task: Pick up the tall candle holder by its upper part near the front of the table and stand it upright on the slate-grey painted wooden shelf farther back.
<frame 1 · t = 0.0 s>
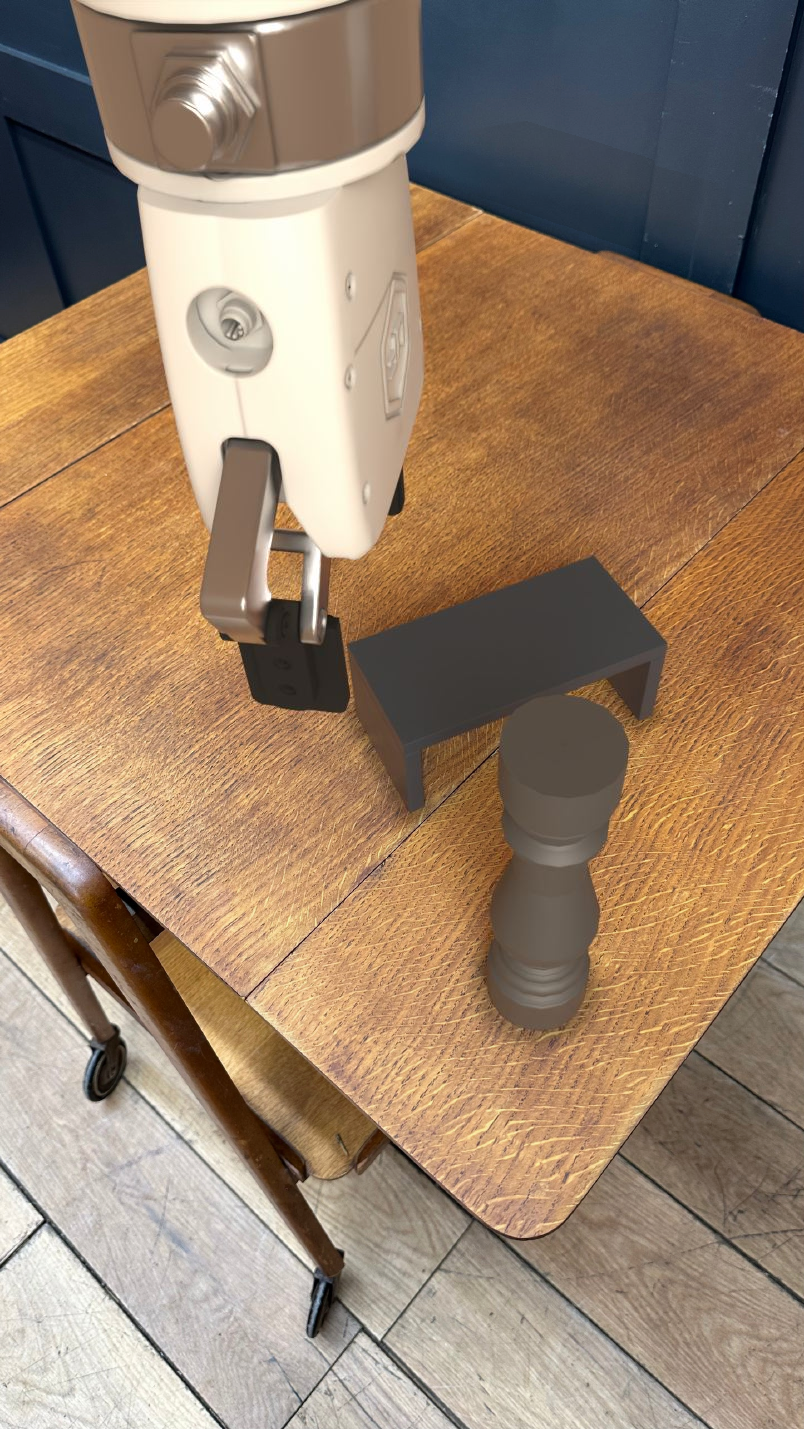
hand: (335, 597, 37), 35 cm above the table, tool pointing down, fingers open, 9 cm apart
shelf: (502, 714, 78), on the table
napkin holder: (308, 420, 103), on the table
candle holder: (535, 984, 65), on the table
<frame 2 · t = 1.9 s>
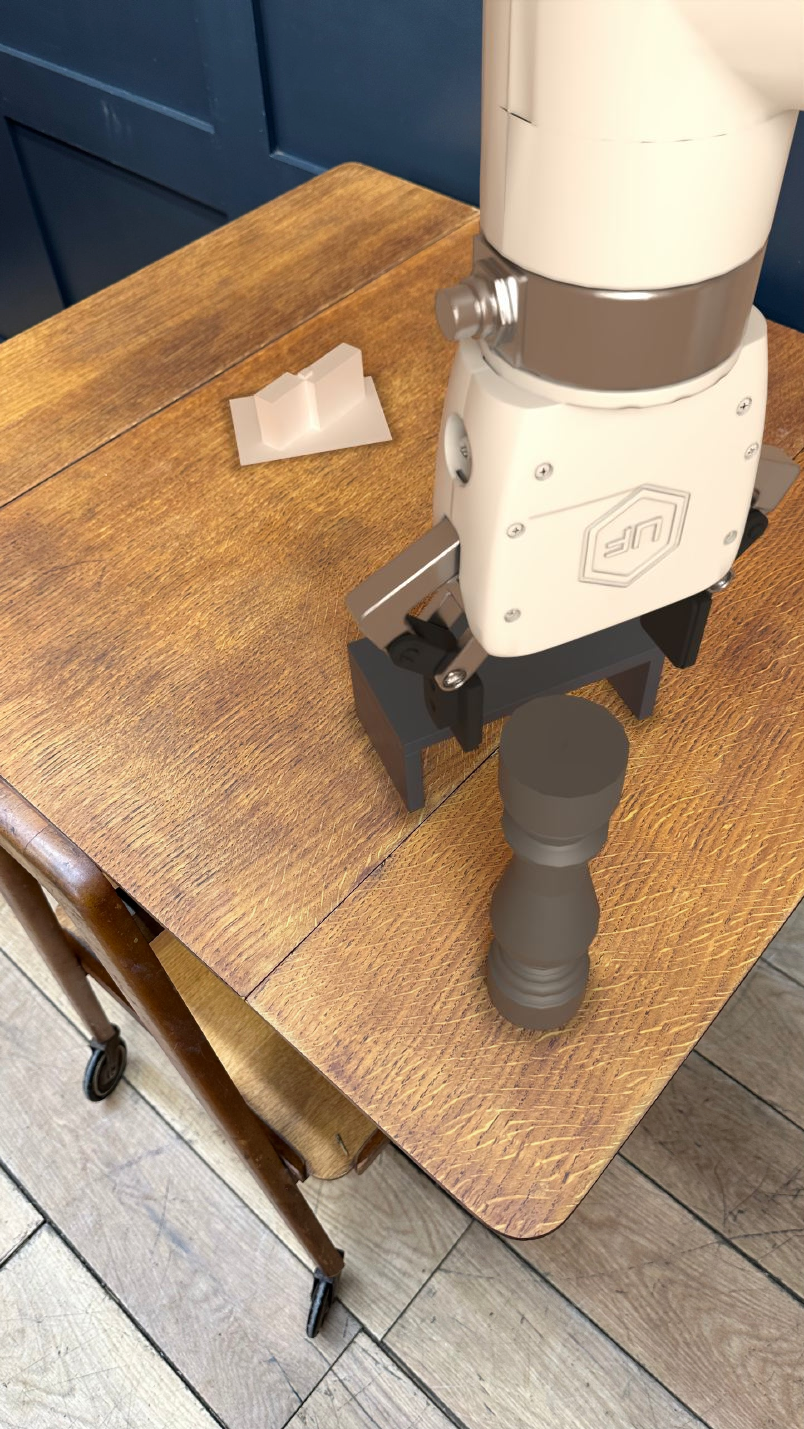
hand: (563, 684, 42), 29 cm above the table, tool pointing down, fingers open, 9 cm apart
nothing on the table moved.
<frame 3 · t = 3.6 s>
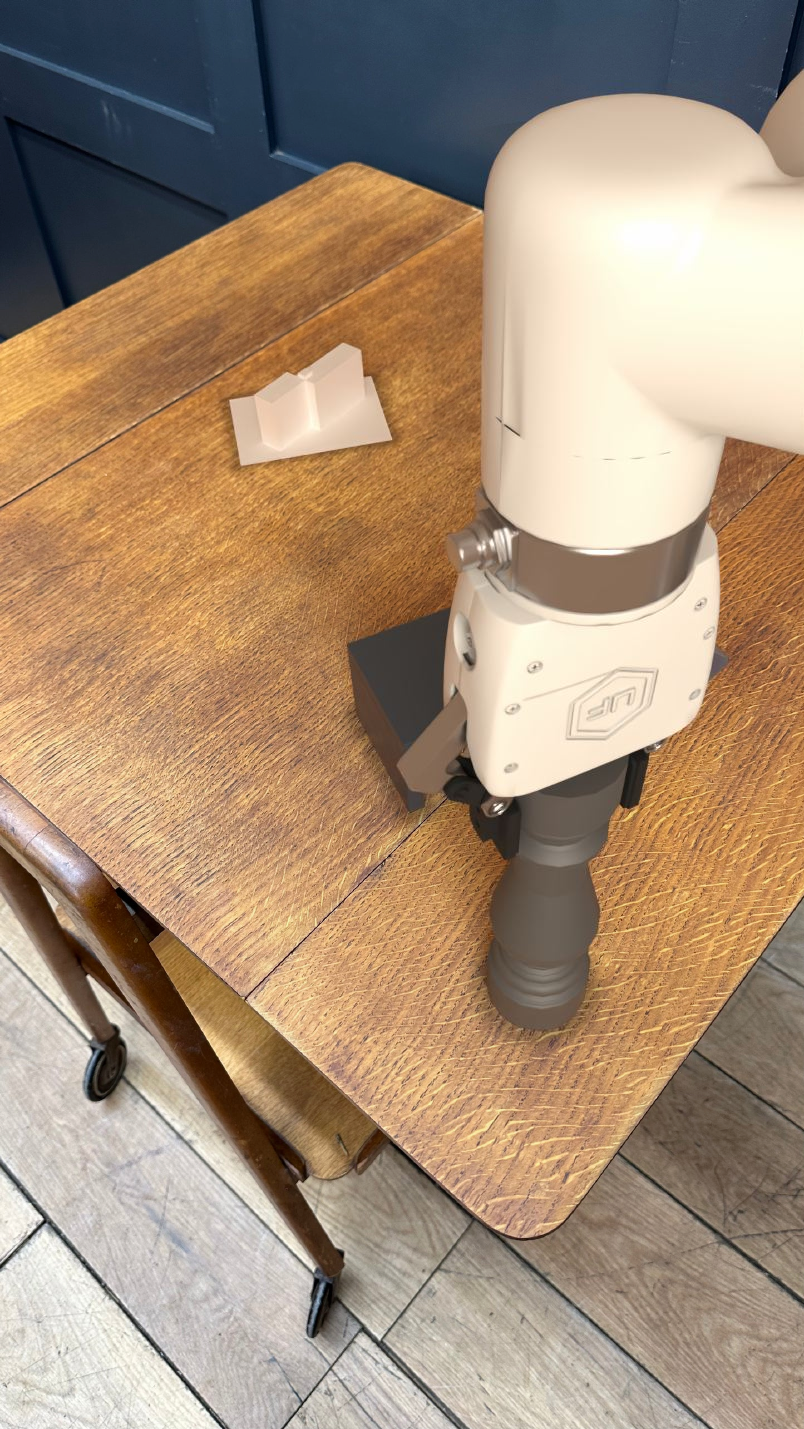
hand: (556, 807, 49), 20 cm above the table, tool pointing down, fingers closed on candle holder, 5 cm apart
candle holder: (535, 984, 65), on the table, touching gripper
everything else where it was.
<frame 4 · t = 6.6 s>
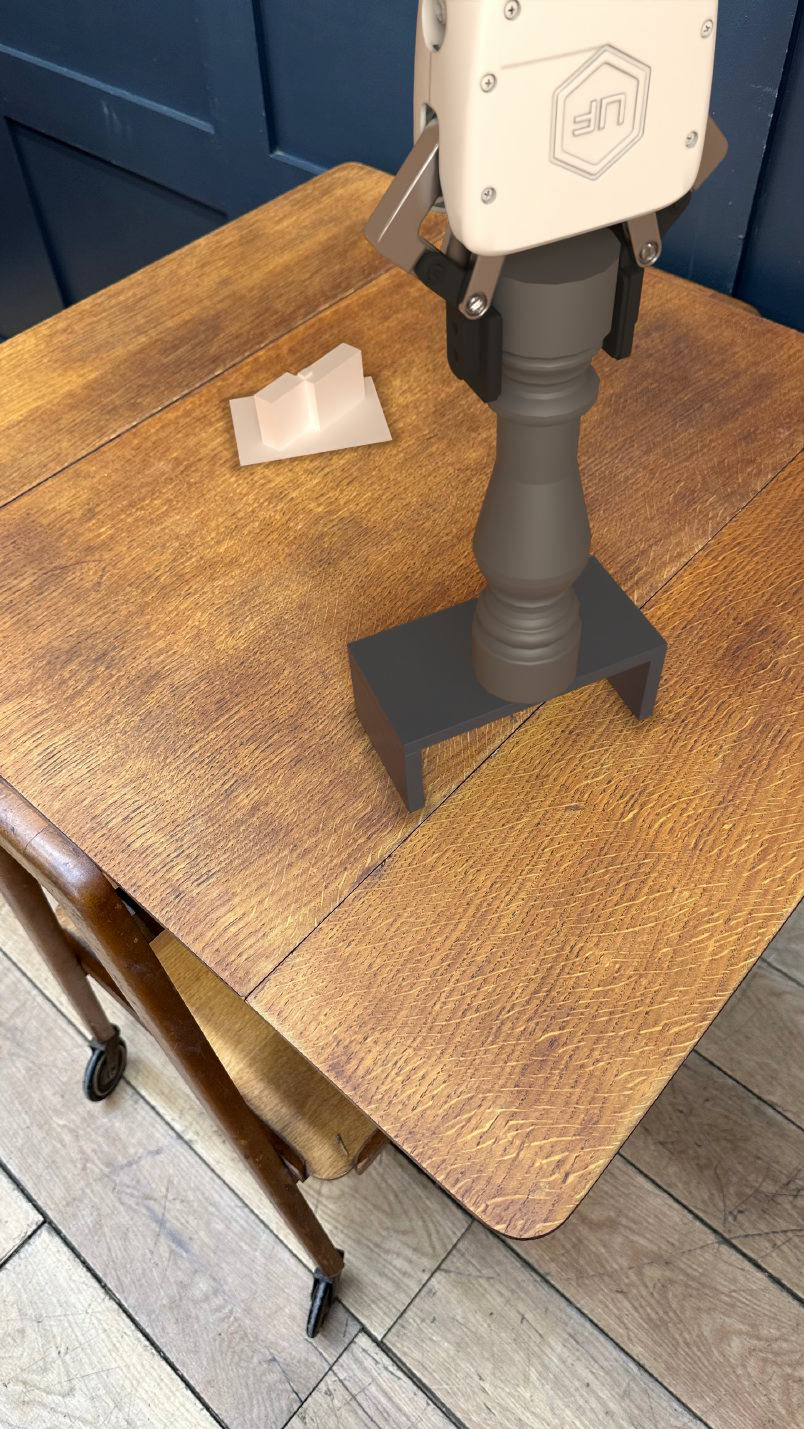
hand: (541, 360, 45), 35 cm above the table, tool pointing down, fingers closed on candle holder, 5 cm apart
candle holder: (524, 665, 61), point 15 cm above the table, touching gripper
everything else where it was.
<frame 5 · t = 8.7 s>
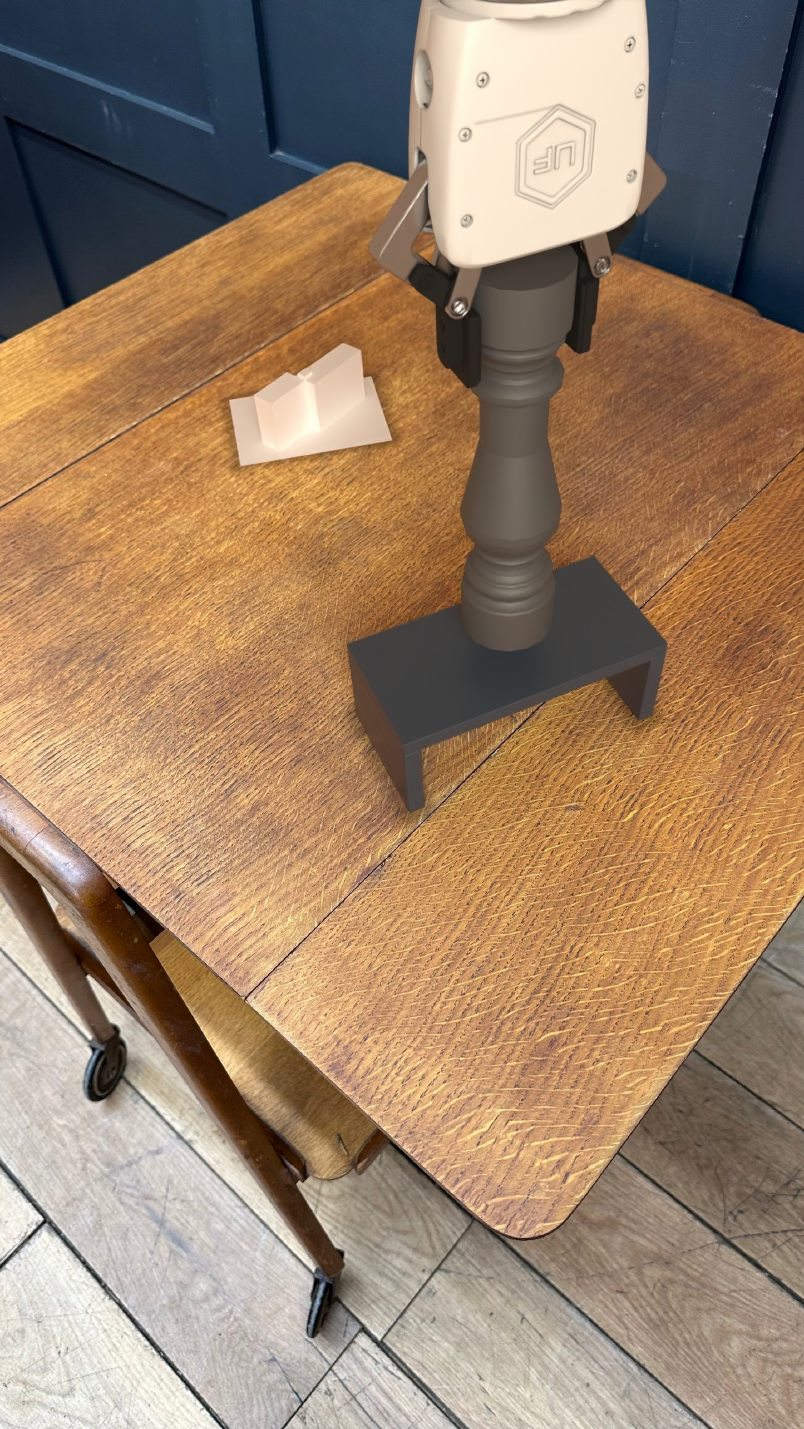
hand: (516, 354, 54), 30 cm above the table, tool pointing down, fingers closed on candle holder, 5 cm apart
candle holder: (506, 619, 70), point 10 cm above the table, touching gripper
everything else where it was.
when the fingers open (28 cm above the table, at t = 9.9 s): candle holder stays where it is, resting on shelf.
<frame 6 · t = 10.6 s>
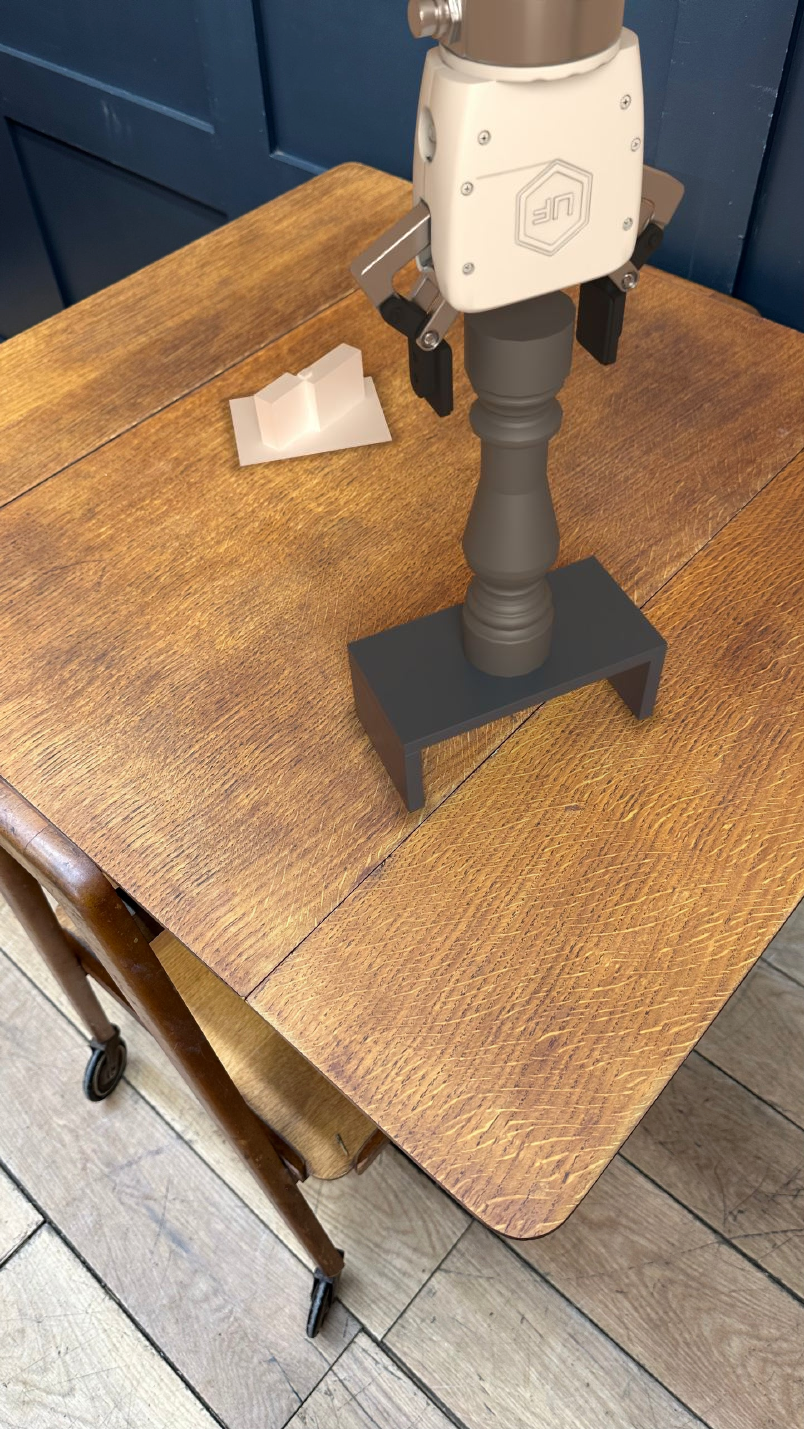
hand: (516, 377, 55), 29 cm above the table, tool pointing down, fingers open, 9 cm apart
candle holder: (506, 645, 72), point 8 cm above the table, touching shelf
everything else where it was.
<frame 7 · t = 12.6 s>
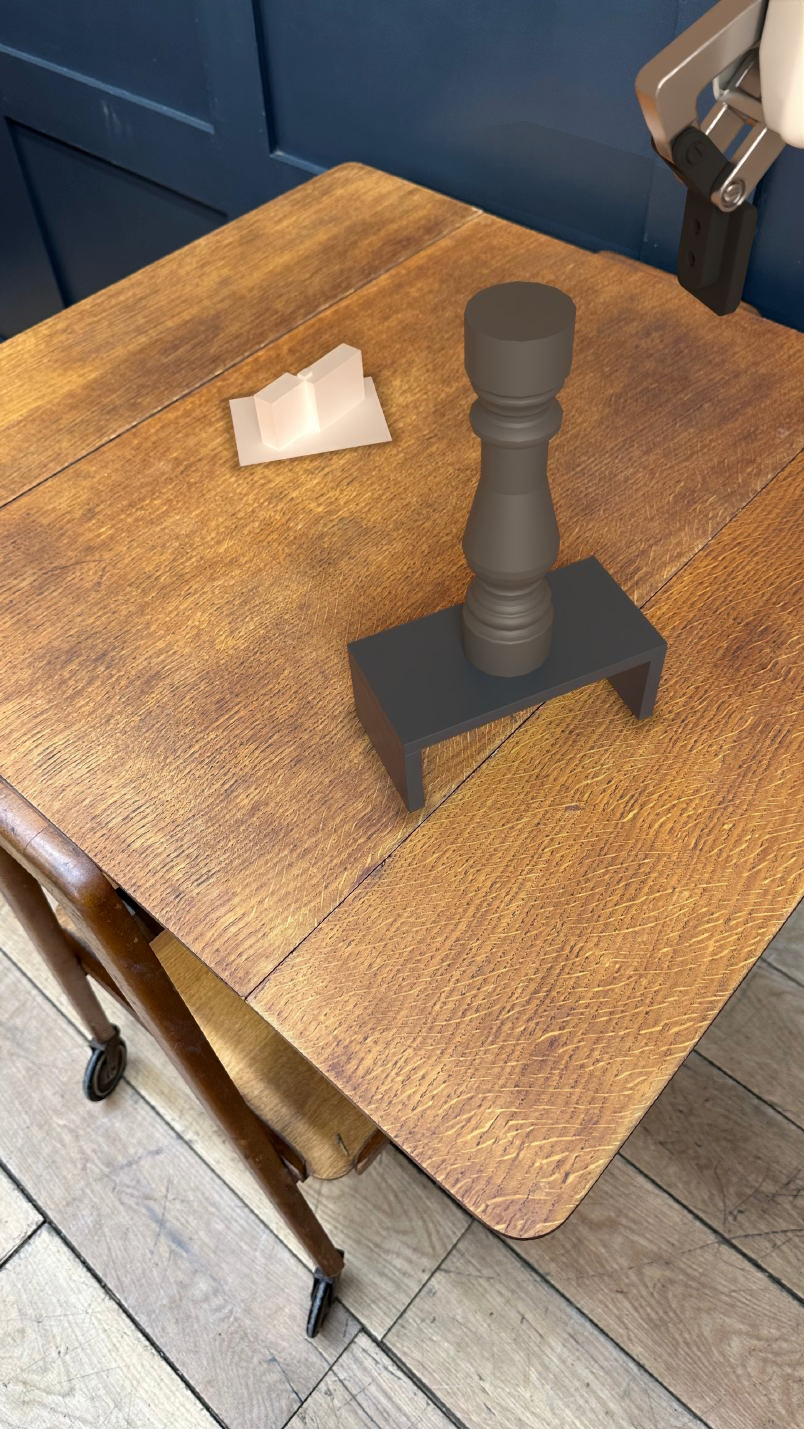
nothing on the table moved.
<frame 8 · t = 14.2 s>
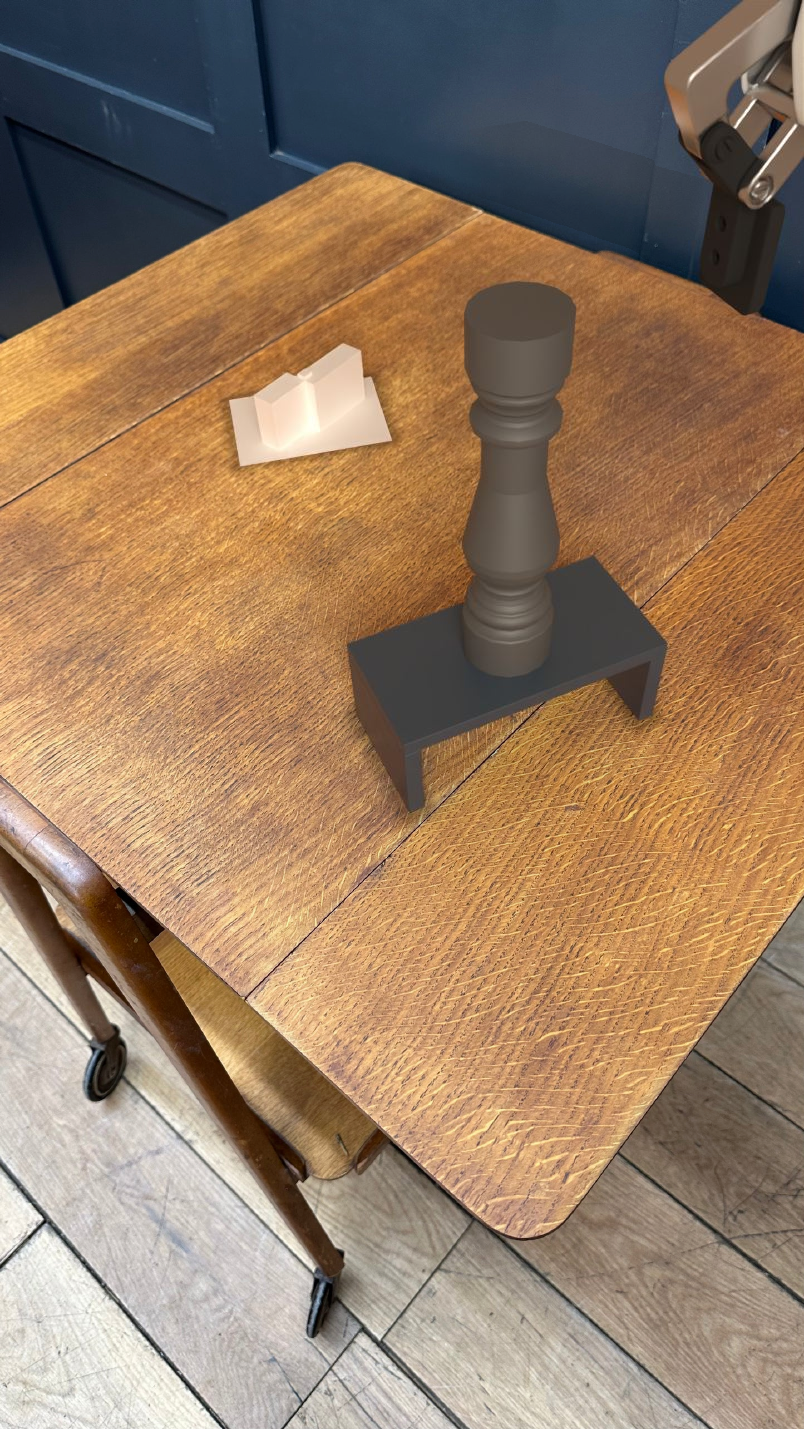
nothing on the table moved.
at the end: candle holder inside the target area on the shelf (0.1 cm from its centre), point 7.8 cm above the shelf's base; candle holder tilted 0°; the gripper is holding nothing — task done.
